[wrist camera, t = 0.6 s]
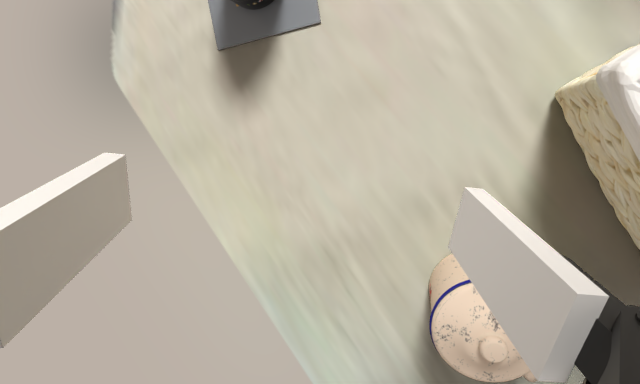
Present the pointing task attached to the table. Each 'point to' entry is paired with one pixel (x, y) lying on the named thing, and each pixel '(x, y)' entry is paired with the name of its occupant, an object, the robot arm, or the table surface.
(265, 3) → the supplement bottle
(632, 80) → the storage basket
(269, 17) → the gray card
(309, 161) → the table surface
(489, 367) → the teacup with lid
